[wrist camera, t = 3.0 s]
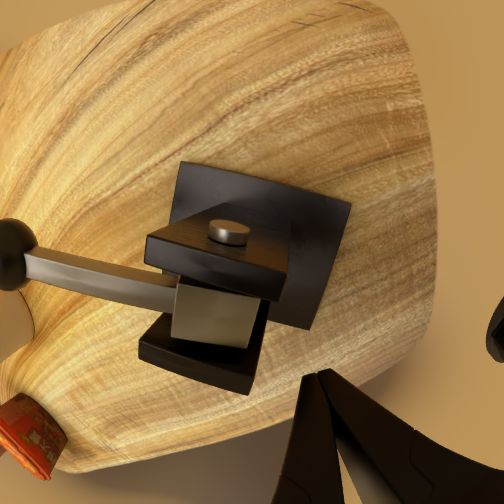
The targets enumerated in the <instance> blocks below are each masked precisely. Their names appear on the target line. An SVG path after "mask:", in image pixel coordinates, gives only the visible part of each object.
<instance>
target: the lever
mask: <svg viewBox="0 0 504 504" xmlns="http://www.w3.org/2000/svg"><path fill="white" fill-rule="evenodd" d="M32 279H33V280H36V281H39V282H43V283H46V284H49V285H53V286H56V287H60V288H63V289H67V290H70V291H74V292H78V293H82V294H85V295H89V296H93V297H97V298H101V299H105V300H109V301H114V302H118V303H122V304H127V305H131V306H136V307H140V308H145V309H150V310H154V311H159V312H164V313H170V314H173V317H172V326H171V335H170V336H171V337H172V338H178V339H183V340H189V341H195V342H201V343H207V344H214V345H221V346H228V347H235V348H243V349H246V348H247V346H248V343H249V339H250V336H251V332H252V329H253V325H254V322H255V319H256V315H257V311H258V308H259V304H260V301H261V299H260V298H257V297H253V296H250V295H246V294H242V293H239V292H235V291H232V290H228V289H225V288H222V287H218V286H215V285H211V284H208V283H205V282H201V281H198V280H195V279H191V278H188V277H185V276H182V275H179V277H175V276H170V275H165V274H160V273H155V272H150V271H145V270H140V269H135V268H130V267H126V266H121V265H116V264H112V263H107V262H103V261H98V260H94V259H89V258H85V257H81V256H76V255H72V254H68V253H64V252H59V251H55V250H51V249H47V248H43V247H39V245H38V242H37V239H36V237H35V235H34V233H33V231H32V230H31V229H30V228H29V227H28V226H27V225H26V224H25V223H24V222H22V221H20V220H17V219H13V218H6V219H2V220H0V290H3V291H10V292H11V291H17V290H19V289H22V288H23V287H25V286H26V285H27V284H28V283H29V282H30V281H31V280H32Z"/></svg>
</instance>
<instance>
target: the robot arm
mask: <svg viewBox="0 0 504 504" xmlns="http://www.w3.org/2000/svg"><path fill="white" fill-rule="evenodd" d="M491 338H492V340H493V342H494V344H495V345H496V347H497V349H498V351H499V353H500V355H501V357H502V359H503V361H504V318H503V320H502V321H501V322H500V323H499V324H498V326H497V327H496V328H495V329H494V330H493V332H492V333H491ZM337 449H338V451H339V453H340V455H341V457H342V460H343V462H344V464H345V466H346V468H347V471H348V473H349V475H350V477H351V479H352V482H353V484H354V486H355V488H356V490H357V493H358V495H359V497H360V499H361V501H362V503H363V504H504V470H498V469H494V468H491V467H488V466H486V465H483V464H481V463H478V462H476V461H474V460H471V459H469V458H467V457H464V456H462V455H460V454H457V453H455V452H453V451H451V450H449V449H447V448H445V447H443V446H441V445H439V444H438V443H436V442H434V441H433V440H431V439H429V438H428V437H426V436H425V435H423V434H422V433H420V432H419V431H417V430H414V428H413V427H411V426H410V425H408V424H407V423H406V422H404V421H403V420H401V419H400V418H398V417H397V416H395V415H394V414H393V413H391V412H390V411H388V410H387V409H385V408H384V407H383V406H381V405H380V404H379V403H377V402H376V401H374V400H373V399H372V398H370V397H369V396H367V395H366V394H365V393H363V392H362V391H361V390H359V389H358V388H357V387H355V386H354V385H353V384H351V383H350V382H349V381H347V380H346V379H344V378H343V377H342V376H340V375H339V374H338V373H337V372H335V371H334V370H333V369H331V368H328V369H325V370H321V371H318V372H317V374H316V373H311V374H307V375H304V376H303V377H302V379H301V385H300V390H299V395H298V400H297V405H296V410H295V414H294V419H293V423H292V428H291V432H290V437H289V441H288V445H287V450H286V453H285V458H284V462H283V465H282V469H281V475H280V476H279V480H278V483H277V487H276V490H275V493H274V496H273V499H272V502H271V504H345V503H344V495H343V487H342V480H341V472H340V465H339V459H338V452H337Z"/></svg>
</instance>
